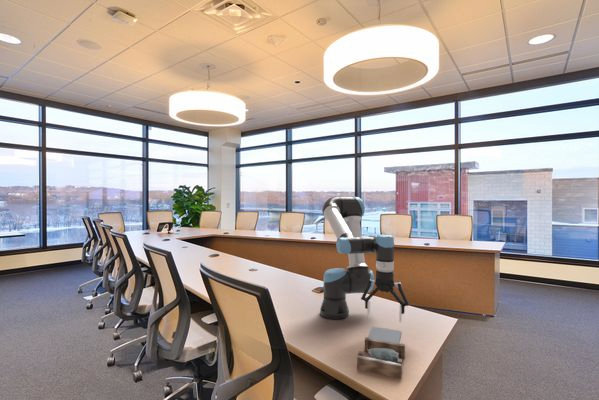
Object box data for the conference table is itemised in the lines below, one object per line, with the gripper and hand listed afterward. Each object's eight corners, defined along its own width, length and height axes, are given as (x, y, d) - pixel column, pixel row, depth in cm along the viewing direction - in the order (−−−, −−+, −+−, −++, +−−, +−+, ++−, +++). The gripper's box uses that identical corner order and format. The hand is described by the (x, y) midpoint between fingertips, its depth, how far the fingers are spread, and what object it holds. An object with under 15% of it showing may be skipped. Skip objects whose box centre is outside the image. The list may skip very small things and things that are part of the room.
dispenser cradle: (357, 369, 110) (357, 355, 110) (366, 347, 127) (366, 335, 127) (401, 379, 105) (401, 364, 105) (405, 355, 121) (405, 342, 121)
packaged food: (366, 355, 119) (367, 342, 119) (398, 358, 118) (399, 345, 118) (369, 368, 111) (370, 354, 111) (403, 371, 109) (404, 357, 109)
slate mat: (366, 341, 132) (366, 340, 132) (372, 327, 147) (372, 326, 147) (398, 347, 127) (398, 346, 127) (401, 332, 142) (401, 331, 142)
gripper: (354, 269, 138) (354, 316, 138) (414, 275, 128) (414, 326, 129) (358, 265, 145) (358, 311, 145) (415, 271, 135) (414, 319, 135)
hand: (384, 318), depth 137 cm, fingers open, 13 cm apart
